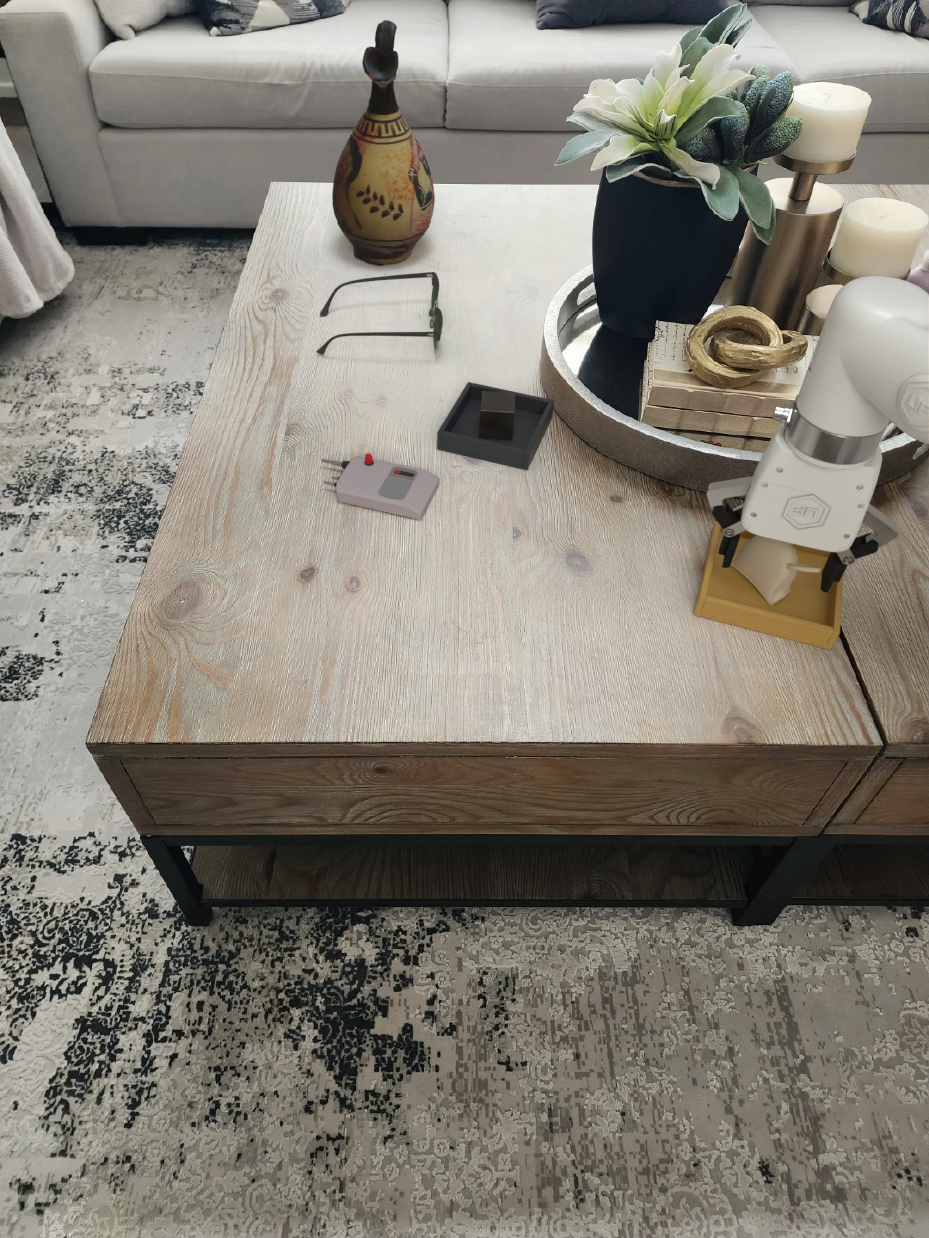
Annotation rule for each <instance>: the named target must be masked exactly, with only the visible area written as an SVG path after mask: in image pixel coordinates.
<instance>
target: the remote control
mask: <svg viewBox="0 0 929 1238" xmlns="http://www.w3.org/2000/svg"><path fill="white" fill-rule="evenodd" d="M320 462H323V463H327V464H330V465H332V466H337V467H341V469H342V470H343V471H342V472H341V474H340V476H338V477H337V476H331V479H333V480H336V481H337V482H331V481H327V480H323V484H325V485H330V486H333V487H334V488H335V495H336V499H337V502H339V503H343V504H348V505H352V506H358V507H362V508H367V509H370V510H375V511H380V512H383V513H390V514H393V515H398V516H401V517H407V518H410V519H415V520H418V521H421V520H422V519H423V518H424V516H425V513H426V511H427V509H428V507H429V506H430V504H431V502H432V500H433V498H434V496H435V495H436V492H437V490H438V488H439V485H440V477H439V476H437V475H435V474H433V473H432V472H430V471H429V470H426V469H423V468H418V467H414V466H409V465H403V464H400V463H395V462H390V461H385V460H381V459H375V458H373V455H372V454H371V453H369V452H368V453H365V455H364V456H362V455H358V456H355V457H354V458H352V459H351V460H343V461H340V460H339V461H338V460H334V459H330V460H329V459H326V458H321V459H320Z"/></svg>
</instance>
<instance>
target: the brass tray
mask: <svg viewBox="0 0 929 1238" xmlns="http://www.w3.org/2000/svg"><path fill="white" fill-rule="evenodd" d="M723 535H724V534H723V528H722V527H721V526H720V524H719V523H718V522H717V521H716V519H714V523H713V527H712V529H711V534H710V538H709V544H708V549H707V552H706V556H705V561H704V565H703V571H702V575H701V579H700V584H699V588H698V593H697V598H696V602H695V607H694V610H693V615H694V616H696V617H701V618H705V619H708V620H712V621H716V622H720V623H724V624H728V625H733V626H736V627H740V628H744V629H748V630H752V631H756V632H759V633H762V634H763V633H764V634H766V635H771V636H774V637H779V638H783V639H786V640H790V641H795V642H798V643H801V644H806V645H810V646H813V647H818V648H821V649H826V650H829V651H831V650H832V648H833V647H834V645H835V643H836V641H837V639H838V637H839V636H840V634H841V622H842V621H841V620H842V606H843V605H842V603H843V588H844V574H845V573H844V574H843V576H842V578H841V580H840V582H839V583H838V582H833V584H832V586H831V588H830V590H829V592H828V593H826V592H822V590H821V578H822V570H823V568H824V566H825V564H826V562H827V560H828V557H829V555H830V553H831V552H828V551H823V550H818V549H814V548H809V547H805V546H800V545H796V544H792V546H793V548H795V549H796V554H797V556H798V557H799V560H798V564H803V565H810V566H816V567H819V568H820V569H821V571H820V572H819V573H813V572H803V571H797V574H796V576H795V580H794V581H793V582H792V583H791V585H790V586H791V587H790V590H791V591H790V592H789V593H788V594H787V595H786V596H785V597H784V598H782V599H781V600H779V601H778V602H776V603H774V604H773V605H770V604H769V603H768V602H767V601H766V599H765V598H764V597H763V595H762V594H761V593H760V591H759V590H758V589H757V588H756V587H755V586H754V585H753V583H752V582H751V581H750V580H748V579H747V578H746V577H745V576H744V575H743V574H742V573H740V572H739V571H738V570H737V569H735V568H734V567H733V566H731V565H730V568H729V567H728V568H723V567H722V564H723V559H724V555H721V554H718V552H719V547H720V544H721V541H722V538H723ZM754 536H756V535H755V534H752V533H750V532H748V531H747V530H746V531H744V532H742V533H740V538H739V542H738V545H737V548H736V551H735V554H734V556H736V555H737V554H739V553H740V552H741V550H742V549H743V547H744V546H745V544H746V543H747V542H748V541H749V540H750V539H752V538H753V537H754Z"/></svg>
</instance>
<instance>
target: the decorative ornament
mask: <svg viewBox="0 0 929 1238" xmlns="http://www.w3.org/2000/svg"><path fill="white" fill-rule="evenodd" d="M798 560H799V557H798V556H797V554H796V549H795V548H793V546H792V543H787V542H783V541H779V540H775V539H771V538H766V537H762V536H759V535H756V536H754V537H753V538H752V539H750V540H749V541H748V542H747V543H746V544H745V546H744V547H743V549H742V550H741V552H740V553H739V554H737V555H736V556H734V557H733V559H732V562H731V566H733V567H734V568H735V569H737V570H738V571H739V572H740V573H742V574H743V575H744V576H745V577H746V578H747V579H748V580H750V581H751V582H752V583H753V585H754V586H755V587H756V588H757V589H758V590H759V591H760V593H761V594H762V595H763V597H764V598H765V599H766V601H767V602H768V603H769V604H770V605H773V604H774V603H776V602H778V601H779V600H781V599H782V598H784V597H785V596H786V595H787V594H788V593H789V592H790V591H791V590H790V587H791V586H790V585H791V583H792V582H793V581H794V580H795V576H796V574H797V571H803V572H813V573H819V572H820V571H821V569H820V568H819V567H816V566H810V565H803V564H798Z"/></svg>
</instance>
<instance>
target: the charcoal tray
mask: <svg viewBox="0 0 929 1238" xmlns="http://www.w3.org/2000/svg"><path fill="white" fill-rule="evenodd" d="M482 391H490V392H507V393H515V413H514V426H513V438H512V440H499V439H483V438H479V427H480V408H481V398H482ZM554 408H555V399H550V398H546V397H542V396H537V395H532V394H527V393H522V392H518V391H513V390H509V389H503V388H499V387H495V386H489V385H484V384H480V383H475V382H471V381H467V382H466V384H465V386H464V387H463V389H462V391H461V393H460V394H459V396H458V398H457V399H456V401H455V402H454V404H453V406H452V407H451V409H450V411H449V412H448V414H447V415H446V417H445V419H444V420H443V422H442V423H441V425H440V427H439V429H438V430H437V432H436V436H437V440H436V441H437V443H436V444H437V445H436V448H437V449H436V450H438V451H443V452H448V453H450V454H456V455H460V456H465V457H469V458H473V459H477V460H481V461H486V462H490V463H494V464H499V465H504V466H507V467H511V468H516V469H520V470H525V471H528V470H529V469H530V466H531V463H533V462H532V461H533V460H534V457H535V455H536V454H537V451H538V449H539V447H540V444H541V443H542V440H543V439H544V436H545V434H546V432H547V430H548V428H549V426H550V424H551V421H552V419H553V416H554Z"/></svg>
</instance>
